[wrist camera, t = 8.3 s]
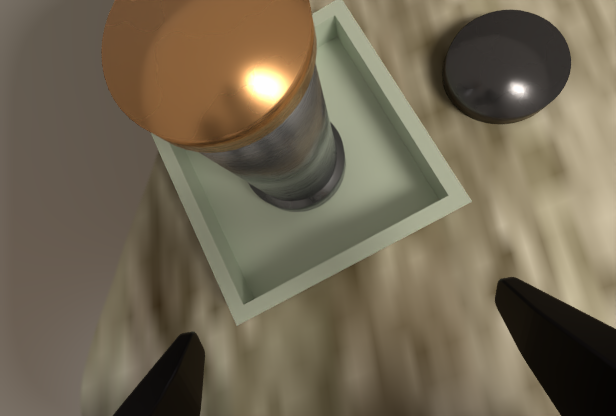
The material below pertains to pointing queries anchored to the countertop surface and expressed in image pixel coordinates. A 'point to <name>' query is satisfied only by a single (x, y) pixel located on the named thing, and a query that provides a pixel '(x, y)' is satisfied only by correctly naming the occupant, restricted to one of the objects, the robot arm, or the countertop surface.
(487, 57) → the stud
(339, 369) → the countertop surface
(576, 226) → the countertop surface
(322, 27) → the bin
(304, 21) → the grey and gold cylinder
